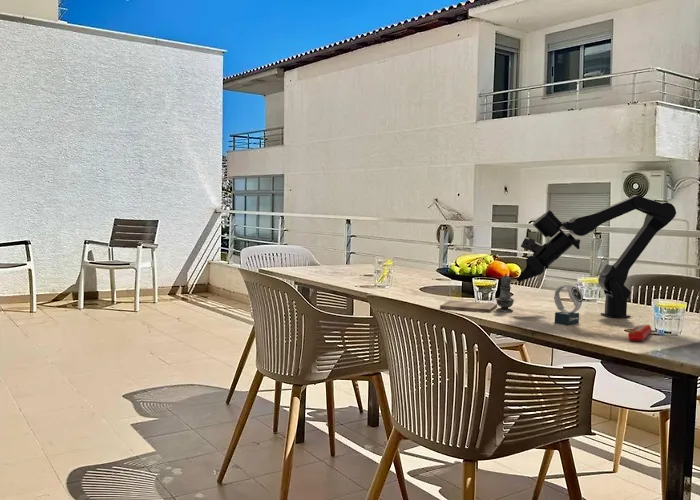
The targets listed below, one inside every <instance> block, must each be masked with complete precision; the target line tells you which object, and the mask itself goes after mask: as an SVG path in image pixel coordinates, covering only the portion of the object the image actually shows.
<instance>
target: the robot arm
mask: <svg viewBox="0 0 700 500" xmlns="http://www.w3.org/2000/svg"><path fill="white" fill-rule="evenodd" d="M635 210H636V211H639V212H641V213H642V214H646V215H645V217H644V221H643V225H642V226H641V227H640V228H639V230H638V232H636V234H635V235H634V237H633V238H632V240H631V241H630V243H629V244H628V246H627V247H626V248H625V250H624V251H623V252H622V254H620V257H619V258H618V259H617V260H616V262H614V263H613V264H609V263H607V264H605V265H604V267H603V269H602V270H601V271H600V272H599V273H598V275H599V277H598V279H597V282H598V286H599V287H600V289H602V290H603V294H604V295H605V301H604V302H605V303H604V312H600V315H601V316H605V317H609V318H614V319H615V318H617V319H618V318H621V319H622V318H631V317H632V316H631V315H630V314H627V312H628V311H627V310H628V309H627V308H628V299H629V298H630V296H631V294H632V291H631V290H630V289H629V288H628V287H626V285H625V283H626V281H627V278H628V275H629V271H630V269H631V268H632V267H633V265H634V264H635V262H636V261H637V260H638V258H639V257H640V255H641V254H642V253H643V252H644V250H645V249H646V248H647V247H648V245H649V243H650V242H651V241H652V239H653V238H654V237H655V236H656V234H657V233H658V232H659V231H660V230H663V228H665V227H666V226H667V225H668V224H670V222H672V221H673V220H674V218H675V217H676V215H677V211H676V207H675V206H674V204H672V203H671V202H659V201H656V200H652V199H650V198H646V197H644V196H642V195H638V194H637V195H635V194H634V195H631V196H629V197H628V198H626V199H623V200H620V201H619V202H617V203H615V204H612V205H610V206H607V207H605V208H603V209H601V210H597V211H596V212H593V213H588V214H584V215H583V214H582V215H580V216H574V217H572V218H570V219H569V220H568V221H560V219H559V218H557V216H556V215H555V214H554V212H553V211H551V210H547V211H546V212H545V213H543V214H542V215H540V216H538V217H537V218H536V219H535V221H534V222H533V223H532V226H533V227H534V228H535V229H537V231H538V232H539V233H540V234H541V235H542V236H543V237H544V238H548V237H549V238H550V240H549V241H548V242H546V243H543V244H541V243H539V242H537V241H536V239H534V238H532V237H530V238H529V237H525V238H524V240H523V241H522V243H521V245H520V247H521V248H522V249H526V250H527V251H529V252H532V255H530V256H528V257H527V258H526V259H525V264H526V266H525V268H524V269H523V271H522V272H521V273H520V274H519V276H518V277H517V278H516V282H518V283H520V282H524V281H526V280H528V279H532V278H534V277H537V276H540V275H541V274H544V272H545V271H546V270H548V268H550V266H551V265H552V264H553V263H554V262H555V261H557V260H558V259H559V258H560V257H561V256H563V254H565V253H566V252H567V251H568V250H569V249H570V248H572V246H574V248H576V249H577V250H579V249H580V244H581V239H579V238H578V239H576V238H575V237H574V236H578V237H584V236H586V235H588V234H589V233H591V232H592V231H594V230H596V229H597V228H598V227H599V226H600V225H602V224H604V223H608V222H609V221H611V220H613V219H616V218H619V217H620V216H623V215H625V214H628V213H630V212H632V211H635ZM564 230H565V231H568V233H566V232H565V231H564ZM573 235H574V236H573Z"/></svg>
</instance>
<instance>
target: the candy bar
mask: <svg viewBox="0 0 700 500" xmlns="http://www.w3.org/2000/svg"><path fill="white" fill-rule="evenodd" d="M651 333H652V327H651V325H650V324H640V325H637V326H635V327H634V328H633V329H632V330H631V331H629V333H628V340H629V341H630V342H642V341H644V340H645V339H646V338H647V337H648V336H649V335H650V334H651Z"/></svg>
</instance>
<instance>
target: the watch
mask: <svg viewBox="0 0 700 500" xmlns="http://www.w3.org/2000/svg"><path fill="white" fill-rule="evenodd" d="M564 288H566V289H567V293H568V296H569V297H568V298H569V299H570V301H572V302H573V305H574V308H573V309H572V310H571V311H570V310H566V309H565V306H564V304H563V302H562V299H561V297H560V292H561V291H562V289H564ZM553 300H554V304H555V306H556V308H557V310H559V311H556V312H554V324H557V325H563V326H572V325H578V324H580V312H578V311H579V310H580V308H581V307H582V304H583V300H584V295H583V294H582V291H581V290H580V289H579V288H578V287H577V286H574V285H570V284H565V285H560V286H558V287H557V288H556V289H555V291H554V296H553Z"/></svg>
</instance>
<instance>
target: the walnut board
mask: <svg viewBox="0 0 700 500" xmlns="http://www.w3.org/2000/svg"><path fill="white" fill-rule="evenodd" d="M497 307H498V304H497V303H493V302H492V303H490V302H481V301H480V302H476V301H466V300H465V301H463V300H450V299H449V300H448V301H446V302H445V303H443V304H440V305H439V309H440V310H453V311H465V312H466V311H467V312H479V313H491V312H493V311H494V310H496V309H497Z"/></svg>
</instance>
